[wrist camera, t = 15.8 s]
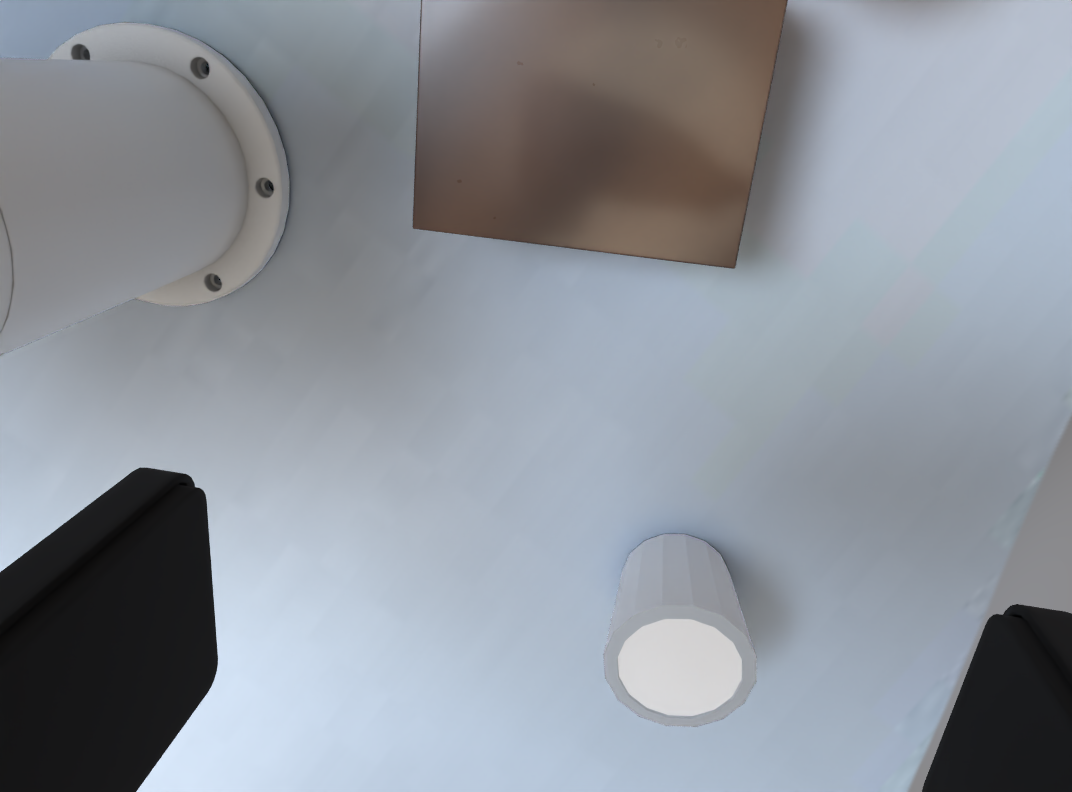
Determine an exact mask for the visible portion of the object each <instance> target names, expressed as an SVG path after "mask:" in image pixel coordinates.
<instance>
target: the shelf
mask: <svg viewBox="0 0 1072 792" xmlns="http://www.w3.org/2000/svg"><path fill="white" fill-rule="evenodd" d="M787 1H788V0H421V17H420V44H419V71H418V98H417V125H416V152H415V179H414V206H413V228H414V229H420V230H428V231H436V232H444V233H452V234H460V235H468V236H476V237H484V238H492V239H500V240H508V241H516V242H524V243H532V244H540V245H548V246H556V247H564V248H572V249H580V250H588V251H596V252H604V253H612V254H620V255H628V256H636V257H644V258H652V259H660V260H668V261H676V262H684V263H692V264H700V265H708V266H716V267H724V268H732V269H734V268H735V266H736V261H737V256H738V251H739V246H740V241H741V236H742V231H743V225H744V220H745V215H746V210H747V205H748V200H749V195H750V190H751V185H752V180H753V175H754V169H755V164H756V159H757V154H758V149H759V144H760V139H761V134H762V129H763V124H764V119H765V113H766V108H767V103H768V98H769V93H770V88H771V83H772V78H773V73H774V68H775V62H776V57H777V52H778V47H779V42H780V37H781V32H782V27H783V22H784V17H785V12H786V6H787Z"/></svg>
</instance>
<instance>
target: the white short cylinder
mask: <svg viewBox="0 0 1072 792" xmlns="http://www.w3.org/2000/svg"><path fill="white" fill-rule="evenodd" d="M603 655H604V670H605V679H606V681H607V682H608V684H609V686H610V687H611V689H612V691H613V693H614V694H615V696H616V698H617V700H619V701H620V702H621V703H622V704H624V705H625V706H626V707H628V708H629V709H630V710H631V711H633V712H634V713H635V714H637V715H638V716H639V717H642V718H645V719H648V720H651V721H653V722H656V723H659V724H662V725H665V726H683V727H697V726H700V725H704V724H707V723H711V722H714V721H718V720H722V719H724V718H725V717H726V716H728V715H729V714H730V713H732V712H733V711H735V710H736V709H737V708H739V707H740V706H741V705H743V704H744V703H745V701H746V699H747V698H748V696H749V694H750V692H751V690H752V689H753V687H754V685H755V683H756V670H757V657H756V654H755V651H754V648H753V644H752V641H751V638H750V635H749V632H748V629H747V626H746V623H745V620H744V617H743V613H742V610H741V607H740V604H739V601H738V598H737V595H736V592H735V589H734V586H733V582H732V579H731V576H730V573H729V570H728V568H727V566H726V564H725V562H724V560H723V558H722V556H721V554H720V553H719V552H717V551H716V550H715V549H714V548H713V547H711V546H710V545H709V544H708V543H707V542H706V541H703V540H701V539H698V538H695V537H692V536H689V535H686V534H662V535H659V536H657V537H654V538H651V539H648V540H645V541H643V542H642V543H641V544H640V545H639V546H638V547H637V548H635V549H634V550H633V551H632V552H631V553H630V554H629V556H628V558H627V560H626V563H625V565H624V567H623V570H622V574H621V578H620V583H619V587H618V592H617V596H616V600H615V605H614V609H613V614H612V618H611V623H610V627H609V632H608V636H607V641H606V645H605V650H604V654H603Z"/></svg>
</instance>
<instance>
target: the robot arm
mask: <svg viewBox="0 0 1072 792" xmlns="http://www.w3.org/2000/svg"><path fill="white" fill-rule="evenodd" d="M207 63H208V64H209V68H210V71H209V73H208V72H207V70H206V64H207ZM269 181H271V182H272V183H273V187H274V191H273V190H271V189H270V188H269ZM289 186H290V180H289V173H288V167H287V160H286V154H285V151H284V148H283V145H282V142H281V139H280V136H279V133H278V130H277V127H276V125H275V123H274V121H273V119H272V117H271V115H270V113H269V111H268V109H267V107H266V105H265V104H264V102H263V100H262V99H261V97H260V96H259V95H258V93H257V92H256V91H255V89H254V88H253V87H252V85H251V84H250V83H249V81H248V80H247V79H246V77H245V76H244V75H243V74H242V73H241V72H240V71H239V70H237V69H236V68H235V67H234V66H233V65H232V64H231V63H230V62H229V61H228V60H227V59H226V58H225V57H224V56H222V55H221V54H219V53H218V52H216V51H215V50H214V49H212V48H211V47H209V46H208V45H206V44H205V43H203V42H202V41H200V40H198V39H196V38H193V37H191V36H189V35H186V34H184V33H182V32H179V31H177V30H175V29H170V28H166V27H161V26H156V25H152V24H143V23H129V22H122V23H113V24H105V25H99V26H96V27H94V28H91V29H88V30H86V31H83V32H80V33H78V34H76V35H75V36H73V37H72V38H70V39H69V40H67V41H66V42H65V43H63V44H62V45H60V46H59V47H58V48H57V49H56V50H55V51H54V52H53V53H52V54H51V56H50V57H49V58H48V59H30V58H0V356H1V355H4V354H6V353H8V352H11V351H13V350H15V349H18V348H20V347H22V346H25V345H27V344H29V343H32V342H34V341H36V340H39V339H41V338H43V337H46V336H48V335H50V334H53V333H55V332H57V331H60V330H62V329H64V328H67V327H69V326H71V325H74V324H76V323H78V322H81V321H83V320H85V319H88V318H90V317H92V316H95V315H97V314H99V313H102V312H104V311H106V310H109V309H111V308H113V307H116V306H118V305H120V304H123V303H125V302H127V301H130V300H132V299H134V298H135V299H138V300H141V301H145V302H150V303H154V304H158V305H162V306H191V305H197V304H203V303H208V302H211V301H213V300H216V299H218V298H221V297H223V296H226V295H228V294H230V293H232V292H233V291H235V290H237V289H239V288H240V287H242V286H244V285H245V284H247V283H248V282H249V281H250V280H251V279H252V278H253V277H255V276H256V275H257V274H258V273H259V272H260V271H261V270H262V269H263V268H264V266H265V265H266V263H267V262H268V261H269V259H270V258H271V257H272V255H273V254H274V252H275V250H276V248H277V245H278V243H279V241H280V239H281V236H282V234H283V232H284V228H285V223H286V219H287V214H288V209H289ZM218 277H219V278H220V279H221V282H220V281H219V279H218ZM217 666H218V655H217V641H216V627H215V613H214V599H213V585H212V571H211V557H210V543H209V529H208V515H207V501H206V496H205V493H204V491H203V490H202V489H200V488H196V487H195V484H194V482H193V480H192V478H191V477H190V476H189V475H187V474H183V473H176V472H170V471H164V470H157V469H151V468H138V469H136V470H134V471H133V472H131V473H130V474H129V475H128V476H126V477H125V478H124V479H122V480H121V481H120V482H118V483H117V484H116V485H114V486H113V487H112V488H110V489H109V490H108V491H106V492H105V493H104V494H103V495H101V496H100V497H99V498H97V499H96V500H95V501H93V502H92V503H91V504H89V505H88V506H87V507H85V508H84V509H83V510H82V511H80V512H79V513H78V514H76V515H75V516H74V517H72V518H71V519H70V520H68V521H67V522H66V523H64V524H63V525H62V526H60V527H59V528H58V529H57V530H55V531H54V532H53V533H51V534H50V535H49V536H47V537H46V538H45V539H43V540H42V541H41V542H39V543H38V544H37V545H36V546H34V547H33V548H32V549H30V550H29V551H28V552H26V553H25V554H24V555H22V556H21V557H20V558H18V559H17V560H16V561H14V562H13V563H12V564H11V565H9V566H8V567H7V568H5V569H4V570H3V571H1V572H0V792H136V791H137V790H138V788H139V787H140V786H141V784H142V783H143V782H144V780H145V779H146V777H147V776H148V775H149V773H150V772H151V770H152V769H153V768H154V766H155V765H156V763H157V762H158V761H159V759H160V758H161V757H162V755H163V754H164V752H165V751H166V750H167V748H168V747H169V745H170V744H171V743H172V741H173V740H174V738H175V737H176V736H177V734H178V733H179V732H180V730H181V729H182V727H183V726H184V725H185V723H186V722H187V720H188V719H189V718H190V716H191V715H192V714H193V712H194V711H195V709H196V708H197V707H198V705H199V704H200V702H201V701H202V700H203V698H204V697H205V695H206V694H207V693H208V691H209V689H210V688H211V686H212V683H213V681H214V678H215V675H216V671H217ZM922 792H1072V614H1071V613H1068V612H1063V611H1056V610H1050V609H1044V608H1038V607H1032V606H1024V605H1018V604H1016V605H1012V606H1010V607H1009V608H1008V609H1007V610H1006V611H1005V612H1004V614H1003V615H999V614H996V615H993V616H992V617H990V618H989V620H988V621H987V624H986V625H985V628H984V630H983V633H982V636H981V638H980V641H979V643H978V646H977V649H976V651H975V654H974V656H973V659H972V661H971V664H970V667H969V669H968V672H967V674H966V677H965V679H964V682H963V685H962V687H961V690H960V693H959V695H958V698H957V700H956V703H955V705H954V708H953V710H952V713H951V716H950V718H949V721H948V723H947V726H946V728H945V731H944V734H943V736H942V739H941V741H940V744H939V747H938V749H937V752H936V754H935V757H934V760H933V762H932V765H931V767H930V770H929V772H928V775H927V777H926V780H925V783H924V786H923V790H922Z"/></svg>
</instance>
